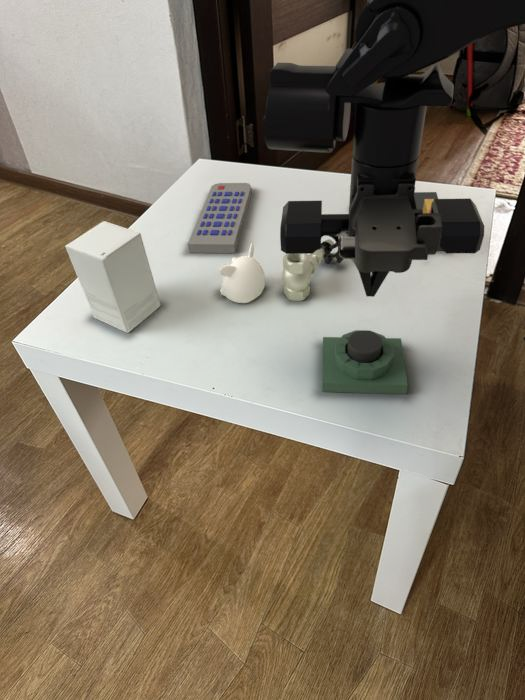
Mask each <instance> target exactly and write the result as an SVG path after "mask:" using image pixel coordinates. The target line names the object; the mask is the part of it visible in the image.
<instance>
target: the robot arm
mask: <svg viewBox="0 0 525 700" xmlns="http://www.w3.org/2000/svg"><path fill="white" fill-rule="evenodd" d="M522 25H525V0H367V1H366V2H365V4H364V6H363V8H362V10H361V11H360V13H359V15H358V19H357V22H356V26H355V30H354V33H355V34H354V35H355V37H354V38H355V42H354V44H353V45H352V47H351V48H345V50H344V52H343V53H342V55H341V57H340V58H339V59H338V61H337V62H336V64H335V65H301V64H300V65H299V64H295V63H292V62H277V63H275V65H274V66H273V67H272V68H271V69H270V70H269V87H268V91H267V95H266V96H267V97H266V100H265V101H266V102H265V113H264V114H265V115H264V116H263V117H262V130H263V137H264V142H265V144H266V147H267V148H268V149H269V150H278V151H279V150H280V151H293V152H295V151H296V152H312V153H327V154H328V153H330V154H331V153H332V152H333V151H334V150H335V148H336V143H337V141H338V142H345V141H347V140H346V139H347V137H348V133H349V129H350V121H351V110H352V109H351V107H352V104H354V105H355V106H354V107H355V108H354V109H355V110H354V123H353V136H352V137H353V139H352V140H353V141H352V153H351V154H352V155H351V171H350V185H349V202H348V203H349V204H348V213H324V214H323V213H322V212H323V200H288V201H287V202H286V203H285V204H284V205H283V207H282V213H281V221H280V229H279V230H280V231H279V232H280V233H279V238H280V241H279V243H280V251H281V252H283V253H285V255H286V254H307V255H310V254H313V253H314V252H315V251H316V250H318V249H319V248H320V247H321V243H322V238H321V235H338V240H339V255H340V257H341V258H344V260H350V261H352V262H353V263H354V266H355V268H356V270H357V271H358V273H359V277H360V280H361V283H362V286H363V289H364V292H365V296H366V297H372V298H373V297H375V296H376V294H377V293H378V291H379V289H380V288H381V286H382V285H383V283H384V281H385V279H386V278H387V276H388V275H389V273H390V272H393V273H395V274H402V273H405V272H407V271H409V269H411V266H412V262H413V261H427V260H428V258H429V255H430V256H431V255H432V256H433V255H436V254H437V253H438V251H437V249H438V246H440V247H441V248H442V249H443V250H444V251H443V252H444V253H445V254H476V253H477V252H479V251H480V250H481V248H482V244H483V240H484V237H485V224H484V221H483V219H482V217H481V214H480V212H479V210H478V207H477V205H476V204H475V202H474V201H473V200H472V198H470V197H469V198H438V199H434V201H433V202H432V204H431V210H430V213H423V209H417V207H416V202H415V198H414V192H416V182H417V181H416V180H417V178H416V177H417V171H418V167H419V166H418V165H419V159H420V152H421V147H422V140H423V133H424V126H425V121H426V115H427V109H428V107H441V108H443V107H445V108H446V107H449V106H451V105H452V103H453V99H454V98H453V97H454V89H455V85H454V83H453V82H452V81H450V79H449V78H448V77H447V76H446V75H445V74H444V72H443V71H442V68H441V65H440V63H439V62H441V61H444V60H446V59H448V58H450V57H452V56H453V55H455V54H457V53H459V52H460V51H462V50H463V49H465V48H467V47H469V46H470V45H472V44H474V43H475V42H477V41H479V40H481V39H483V38H485V37H488V36H490V35H492V34H494V33H497V32H499V31H503V30H507V29H511V28H516V27H518V26H522ZM430 66H431V67H430ZM428 67H430V68H429V69H428V70H426V71H425V72H423V73H421V74H415V73H417V72H419V71H421V70H424V69H425V68H428ZM380 79H385V81H384V82H377V81H379V80H380ZM375 82H377V83H375Z"/></svg>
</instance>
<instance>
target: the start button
mask: <svg viewBox="0 0 525 700" xmlns="http://www.w3.org/2000/svg"><path fill="white" fill-rule="evenodd" d="M371 331H372V330H367V329H366V330H365V329H364V330H363V329H362V331H357V332H354V333H353V334H351V336H350V337H349V339H348V349H347V352H348V355H349V356H350V358H351V359H353V360H355V361H357V362H359V363H371V362H374V361H376V360H377V359H378V358H379V357H380V354H381V347H382V340H381V338H380V337H379V336H378V335H377V334H376V333H377V332H375V331H373V332H371ZM374 332H375V333H374Z"/></svg>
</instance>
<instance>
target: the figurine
mask: <svg viewBox="0 0 525 700" xmlns="http://www.w3.org/2000/svg"><path fill="white" fill-rule="evenodd" d="M254 252H255V245H254V243H253V242H251V244H250V246H249V250H248V255H241V256H239V257H235V256H233V257H232V258H231V263H228V262H225V263H224V264H223V266H221V267H220V268H219V271H218V272H219V274H220V275H221V276H223V277H222V280H221V288H220V289H219V292H220V294H221V296H224V297H225V298H227V299H228V300H230V301H231V302H234V303H239V304H247V303H250V302H252V301H254V300H255V299H257V298H258V297H259V296H260V295H262V293H263V291H264V289H265V287H266V286H265V285H266V274H265V271H264V268H263V267H262V265H261V264H260V263H261V262H259V261H258V260H257V259H256V258H254Z"/></svg>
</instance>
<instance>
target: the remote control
mask: <svg viewBox="0 0 525 700" xmlns="http://www.w3.org/2000/svg"><path fill="white" fill-rule="evenodd" d="M251 198H252V185H251V184H250V183H248V182H219V183H214V184H212V185H211V186H210V189H209V191H208V193H207V196H206V198H205V201H204V203H203V206H202V209H201V210H200V213H199V215H198V217H197V221H196V223H195V226H194V228H193V231H192V232H191V235H190V238H189V240H188V241H187V247H188V252H189V254H235V253H236V251H237V247H238V243H239V241H240V237H241V233H242V231H243V226H244V223H245V219H246V216H247V213H248V209H249V205H250V202H251Z"/></svg>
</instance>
